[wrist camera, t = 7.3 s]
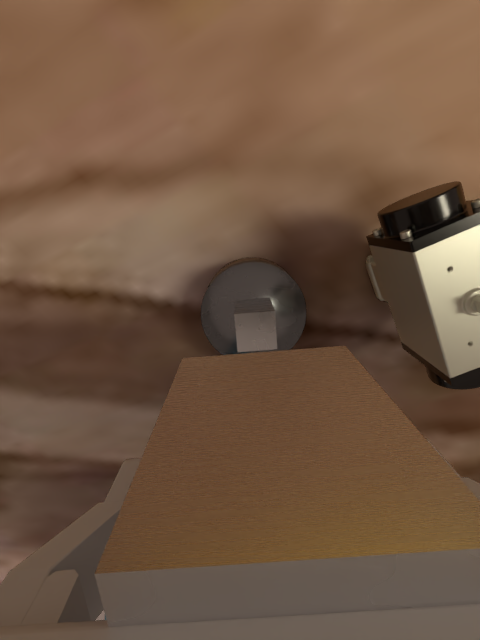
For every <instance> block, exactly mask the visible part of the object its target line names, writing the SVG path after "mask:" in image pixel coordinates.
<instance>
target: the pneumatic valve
mask: <svg viewBox="0 0 480 640" xmlns="http://www.w3.org/2000/svg"><path fill="white" fill-rule="evenodd" d="M378 218H379V221H380V225H381V228H378V229H376V230H374V231H373V234H371V235H368V236H366V237H367V240H368V244H369V247H370V250H371V253H372V255H369V256H367V257H368V258H366V260H367V262H366V263H365V265H366V268H367V271H368V274H369V277H370V280H371V283H372V286H373V289H374V292H375V295H376V298H377V299H380V301H387V302H388V304H389V307H390V310H391V313H392V316H393V319H394V322H395V325H396V328H397V331H398V334H399V337H400V340H401V343H402V346H403V349H404V350H406V351H407V352H408V353H410V354H411V355H412V356H413V357H415V358H416V359H417V360H419V361H420V362H421V363H423V364H424V365H425V367H426V370H427V373H428V376H429V378H430V379H431V381H433V382H434V383H435V384H437V385H440V386H442V387H446V388H451V389H473V388H478V387H480V199H476V200H471V201H466V200H465V196H464V192H463V188H462V184H461V182H450V183H446V184H443V185H439V186H436V187H433V188H430V189H427V190H424V191H421V192H419V193H416V194H414V195H411V196H409V197H406V198H404V199H402V200H399V201H397V202H395V203H393V204H391V205H389V206H387V207H385V208H383V209H382V210H380V211H379V212H378Z"/></svg>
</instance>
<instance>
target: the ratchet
mask: <svg viewBox="0 0 480 640" xmlns="http://www.w3.org/2000/svg"><path fill="white" fill-rule="evenodd" d="M201 321H202V326H203V329H204V332H205V334H206V337H207V338H208V340H209V342H210V343H211V344H212V345H213V347H214V348H215V349H216V350H217V351H218V352H220V353H221V354H222V355H231V354H244V353H257V352H270V351H283V350H290V349H291V348H292V347H293V346H294V345H295V344H296V343H297V341H298V339H299V338H300V336H301V334H302V332H303V329H304V326H305V322H306V304H305V299H304V296H303V294H302V291H301V290H300V288H299V286H298V285H297V283H296V282H295V281H294V279H293V278H292V277H291V276H290V275H289V274H288V273H287V272H286V271H285V270H284V269H283V268H282V267H280V266H279V265H277V264H276V263H274V262H272V261H269V260H266V259H262V258H242V259H239V260H236V261H233V262H231V263H229V264H228V265H226V266H225V267H223V268H222V269H221V270H220V271H219V272H218V273H217V274H216V275H215V276H214V278H213V279H212V281H211V283H210V285H209V287H208V289H207V291H206V293H205V295H204V298H203V302H202V306H201Z"/></svg>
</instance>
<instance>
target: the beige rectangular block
mask: <svg viewBox="0 0 480 640" xmlns="http://www.w3.org/2000/svg"><path fill="white" fill-rule="evenodd" d="M95 578H96V582H97V586H98V590H99V593H100V597H101V601H102V605H103V608H104V612H105V616H106V620H107V623H108V627H117V626H133V625H149V624H165V623H181V622H197V621H213V620H229V619H245V618H261V617H277V616H293V615H309V614H325V613H341V612H357V611H373V610H389V609H405V608H421V607H437V606H453V605H469V604H480V501H479V500H478V499H477V498H476V496H475V495H474V494H473V493H472V492H471V491H470V490H469V488H468V487H467V486H466V485H465V484H464V483H463V481H462V480H461V479H460V478H459V477H458V476H457V475H456V473H455V472H454V471H453V470H452V469H451V468H450V466H449V465H448V464H447V463H446V462H445V461H444V459H443V458H442V457H441V456H440V455H439V454H438V453H437V451H436V450H435V449H434V448H433V447H432V446H431V444H430V443H429V442H428V441H427V440H426V439H425V438H424V436H423V435H422V434H421V433H420V432H419V431H418V429H417V428H416V427H415V426H414V425H413V424H412V422H411V421H410V420H409V419H408V418H407V417H406V416H405V414H404V413H403V412H402V411H401V410H400V409H399V407H398V406H397V405H396V404H395V403H394V402H393V401H392V399H391V398H390V397H389V396H388V395H387V394H386V392H385V391H384V390H383V389H382V388H381V387H380V385H379V384H378V383H377V382H376V381H375V380H374V379H373V377H372V376H371V375H370V374H369V373H368V372H367V370H366V369H365V368H364V367H363V366H362V365H361V364H360V362H359V361H358V360H357V359H356V358H355V357H354V355H353V354H352V353H351V352H350V351H349V350H348V348H347V347H346V346H335V347H322V348H309V349H296V350H283V351H270V352H257V353H244V354H231V355H218V356H205V357H192V358H182V361H181V363H180V366H179V368H178V371H177V373H176V375H175V378H174V380H173V383H172V385H171V388H170V390H169V393H168V395H167V397H166V400H165V402H164V405H163V407H162V410H161V412H160V415H159V417H158V419H157V422H156V424H155V427H154V429H153V432H152V434H151V437H150V439H149V441H148V444H147V446H146V449H145V451H144V454H143V456H142V459H141V461H140V463H139V466H138V468H137V471H136V473H135V476H134V478H133V481H132V483H131V485H130V488H129V490H128V493H127V495H126V498H125V500H124V503H123V505H122V507H121V510H120V512H119V515H118V517H117V520H116V522H115V525H114V527H113V529H112V532H111V534H110V537H109V539H108V542H107V544H106V547H105V549H104V552H103V554H102V556H101V559H100V561H99V564H98V566H97V569H96V571H95Z"/></svg>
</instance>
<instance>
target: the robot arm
mask: <svg viewBox="0 0 480 640" xmlns="http://www.w3.org/2000/svg"><path fill="white" fill-rule="evenodd" d="M425 439H426V438H425ZM426 440H427V441H428V442H429V443H430V441H429V440H428V439H426ZM430 444H431V443H430ZM431 446H432V447H433V448H434V449H435V450H436V451H437V449H436V448H435V447H434V446H433V445H432V444H431ZM437 453H438V454H439V455H440V456H441V457H442V458H443V459H444V461H445V462H446V463H447V464H448V465H449V466H450V468H451V469H452V470H453V471H454V472H455V473H456V475H457V476H458V477H459V478H460V479H461V480H462V481H463V483H464V484H465V485H466V486H467V487H468V488H469V490H470V491H471V492H472V493H473V494H474V495H475V496H476V498H477V499H478V500H479V501H480V483H478V482H476V481H474V480H472V479H470V478H468V477H467V478H461V476H460V475H459V474H458V473H457V472H456V471H455V470H454V469H453V467H452V466H451V465H450V464H449V463H448V462H447V461H446V460H445V458H444V457H443V456H442V455H441V454H440V453H439V452H438V451H437ZM141 459H142V458H135V459H126V460H125V461H124V462H123V464H122V466H121V468H120V470H119V472H118V474H117V476H116V478H115V480H114V482H113V484H112V486H111V488H110V490H109V492H108V494H107V496H106V498H105V501H104V502H103V503H97V504H96V505H95V506H94V507H92V508H91V509H90V510H88V511H87V512H86V513H84V514H83V515H82V516H81V517H79V518H78V519H77V520H75V521H74V522H73V523H72V524H70V525H69V526H68V527H66V528H65V529H64V530H62V531H61V532H60V533H59V534H57V535H56V536H55V537H53V538H52V539H51V540H50V541H48V542H47V543H46V544H44V545H43V546H42V547H40V548H39V549H38V550H37V551H35V552H34V553H33V554H31V555H30V556H29V557H28V558H26V559H25V560H24V561H22V562H21V563H20V564H19V565H17V566H16V567H15V568H13V569H12V570H11V571H9V573H8V574H7V576H6V577H5V579H4V580H3V582H2V583H1V585H0V640H480V604H469V605H453V606H437V607H421V608H405V609H389V610H373V611H357V612H341V613H325V614H309V615H293V616H277V617H261V618H245V619H229V620H213V621H197V622H181V623H165V624H149V625H133V626H117V627H108V623H107V620H97V621H95V620H96V618H97V617H98V616H99V615H100V614H101V612H102V611H103V610H104V608H103V605H102V601H101V597H100V593H99V590H98V586H97V582H96V578H95V571H96V569H97V566H98V564H99V561H100V559H101V556H102V554H103V552H104V549H105V547H106V544H107V542H108V539H109V537H110V534H111V532H112V529H113V527H114V525H115V522H116V520H117V517H118V515H119V512H120V510H121V507H122V505H123V503H124V500H125V498H126V495H127V493H128V490H129V488H130V485H131V483H132V481H133V478H134V476H135V473H136V471H137V468H138V466H139V463H140V461H141Z"/></svg>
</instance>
